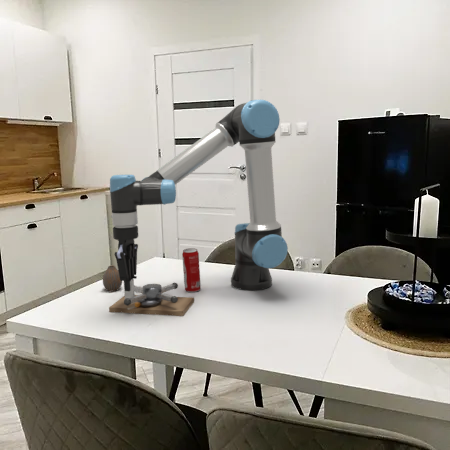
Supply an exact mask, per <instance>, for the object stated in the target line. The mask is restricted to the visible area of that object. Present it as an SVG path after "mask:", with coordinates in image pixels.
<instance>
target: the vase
mask: <svg viewBox="0 0 450 450" xmlns="http://www.w3.org/2000/svg"><path fill="white" fill-rule="evenodd" d="M102 276H103V277H102V285H103V288H105V290H107V291H108V292H116V291H118V290H120V289H121V287H122V284H123V281H120V277H119V271H118V268H117V267H116V265H113V264H112V265H108V266H107V268H106V270H105V272H104V274H103V275H102Z"/></svg>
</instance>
